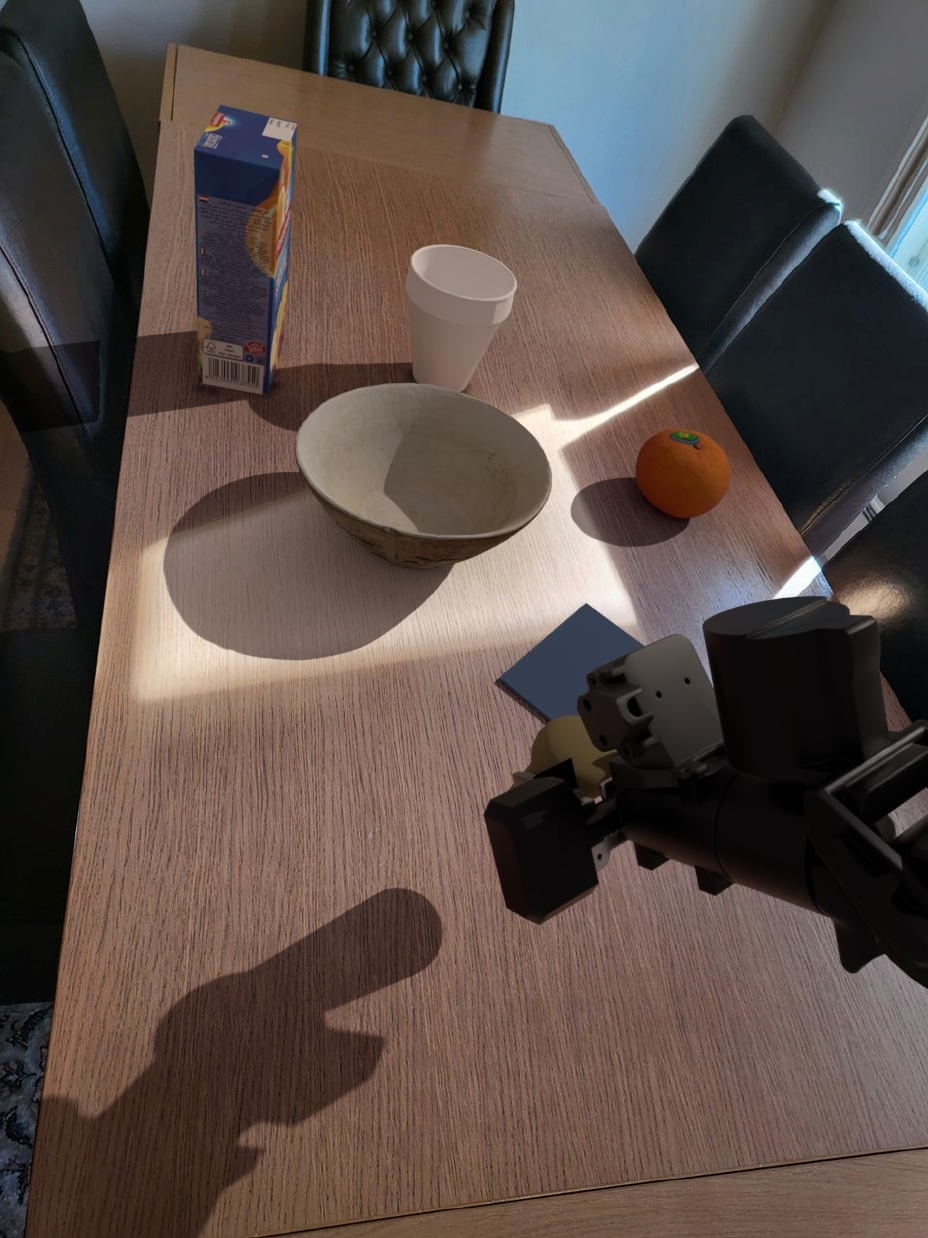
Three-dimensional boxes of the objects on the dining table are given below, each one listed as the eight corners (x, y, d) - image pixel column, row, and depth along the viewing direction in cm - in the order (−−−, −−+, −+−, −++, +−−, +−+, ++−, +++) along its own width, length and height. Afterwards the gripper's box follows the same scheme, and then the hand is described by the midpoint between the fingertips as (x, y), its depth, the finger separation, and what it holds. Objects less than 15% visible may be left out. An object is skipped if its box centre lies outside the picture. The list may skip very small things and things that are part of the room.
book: (723, 707, 76) (724, 705, 76) (647, 801, 67) (649, 799, 67) (584, 605, 81) (586, 602, 80) (498, 680, 72) (499, 677, 72)
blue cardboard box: (267, 396, 91) (279, 169, 74) (198, 383, 90) (193, 149, 73) (283, 339, 99) (297, 122, 82) (220, 326, 98) (220, 103, 81)
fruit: (728, 521, 95) (762, 466, 89) (663, 540, 90) (694, 484, 84) (670, 463, 100) (699, 408, 94) (606, 478, 95) (631, 421, 89)
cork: (552, 783, 58) (603, 690, 50) (590, 860, 55) (652, 774, 47) (475, 803, 56) (516, 710, 48) (510, 885, 53) (561, 799, 45)
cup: (448, 342, 107) (472, 238, 97) (508, 395, 102) (539, 291, 92) (370, 359, 101) (387, 249, 91) (430, 417, 96) (454, 307, 86)
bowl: (263, 459, 84) (267, 375, 77) (473, 445, 94) (494, 369, 87) (325, 635, 71) (338, 552, 64) (562, 598, 81) (597, 522, 73)
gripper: (849, 600, 41) (631, 598, 55) (566, 732, 32) (387, 691, 45) (880, 804, 43) (663, 754, 57) (623, 985, 34) (435, 875, 47)
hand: (549, 764), depth 51 cm, fingers closed on cork, 5 cm apart
